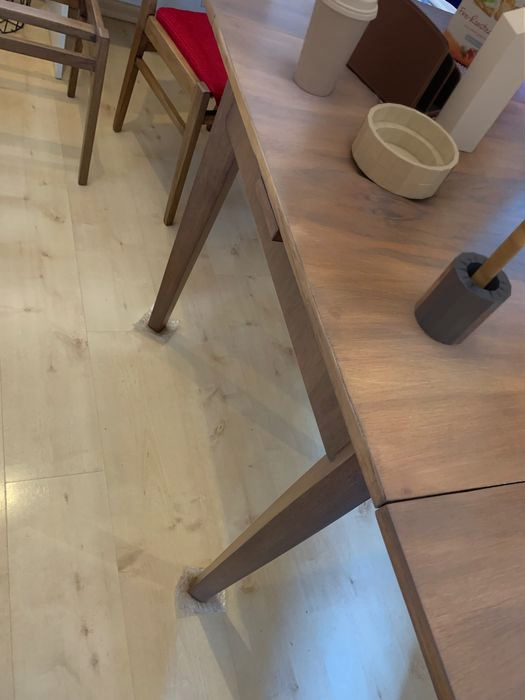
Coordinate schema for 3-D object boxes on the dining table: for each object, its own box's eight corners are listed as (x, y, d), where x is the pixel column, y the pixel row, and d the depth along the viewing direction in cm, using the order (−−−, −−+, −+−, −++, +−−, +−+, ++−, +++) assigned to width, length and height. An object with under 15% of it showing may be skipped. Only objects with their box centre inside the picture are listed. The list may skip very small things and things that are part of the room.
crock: (465, 316, 70) (512, 269, 63) (460, 358, 65) (510, 312, 58) (416, 292, 70) (457, 242, 63) (407, 332, 65) (451, 283, 58)
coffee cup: (331, 110, 88) (375, 13, 76) (277, 81, 87) (313, -21, 76) (345, 85, 94) (389, -9, 82) (295, 58, 93) (331, -40, 82)
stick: (448, 318, 67) (555, 208, 53) (447, 328, 66) (555, 218, 52) (435, 312, 67) (538, 199, 53) (433, 322, 66) (538, 210, 52)
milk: (441, 146, 92) (531, 11, 75) (431, 124, 96) (516, -11, 78) (471, 153, 94) (567, 23, 77) (461, 131, 97) (550, 1, 80)
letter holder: (403, 123, 93) (452, 40, 82) (331, 51, 99) (367, -35, 88) (439, 116, 98) (489, 37, 87) (368, 49, 104) (407, -33, 93)
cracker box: (434, 47, 114) (499, -68, 98) (444, 40, 118) (508, -72, 102) (491, 85, 113) (567, -26, 96) (499, 77, 116) (573, -31, 100)
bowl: (440, 166, 89) (463, 134, 84) (429, 217, 80) (454, 184, 75) (360, 124, 88) (378, 90, 83) (340, 172, 79) (358, 136, 74)
